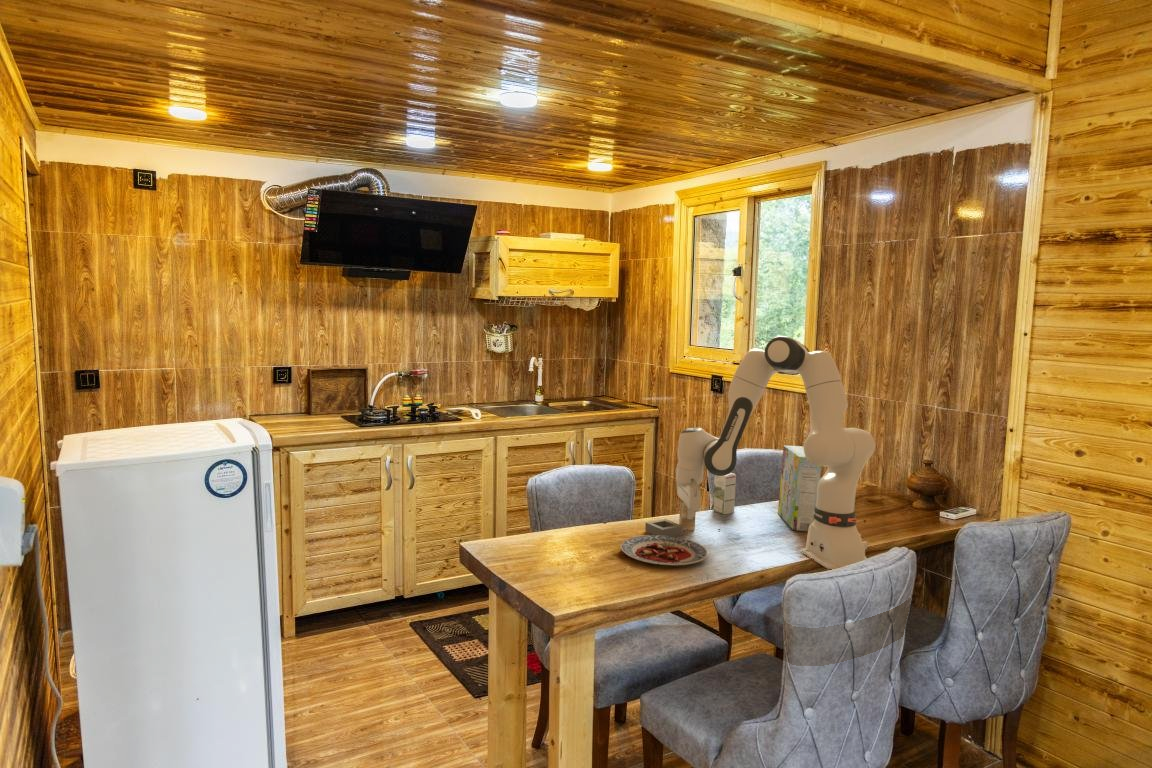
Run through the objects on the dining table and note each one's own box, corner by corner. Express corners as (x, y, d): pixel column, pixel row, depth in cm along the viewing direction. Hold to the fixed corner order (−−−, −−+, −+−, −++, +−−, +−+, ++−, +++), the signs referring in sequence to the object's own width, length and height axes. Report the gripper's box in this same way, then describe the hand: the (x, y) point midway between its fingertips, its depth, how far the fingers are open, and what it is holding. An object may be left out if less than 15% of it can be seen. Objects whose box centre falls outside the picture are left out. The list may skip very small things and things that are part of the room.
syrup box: (734, 512, 270) (737, 473, 269) (723, 514, 267) (725, 475, 265) (723, 508, 275) (725, 470, 273) (711, 510, 272) (714, 472, 270)
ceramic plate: (688, 578, 205) (689, 568, 204) (605, 559, 217) (606, 549, 217) (718, 552, 227) (719, 543, 227) (642, 536, 239) (642, 527, 239)
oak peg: (694, 530, 248) (696, 503, 247) (681, 529, 247) (683, 503, 246) (691, 526, 252) (693, 500, 251) (678, 525, 252) (680, 500, 251)
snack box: (818, 532, 250) (823, 457, 247) (792, 531, 250) (797, 456, 247) (800, 514, 271) (805, 445, 269) (776, 513, 272) (781, 444, 269)
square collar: (682, 534, 242) (682, 525, 242) (662, 538, 237) (662, 529, 237) (665, 527, 249) (665, 519, 249) (645, 531, 244) (645, 522, 244)
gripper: (706, 483, 238) (704, 525, 239) (692, 469, 258) (689, 507, 260) (687, 483, 237) (684, 525, 239) (674, 468, 257) (672, 507, 259)
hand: (687, 516), depth 249 cm, fingers closed on oak peg, 4 cm apart
